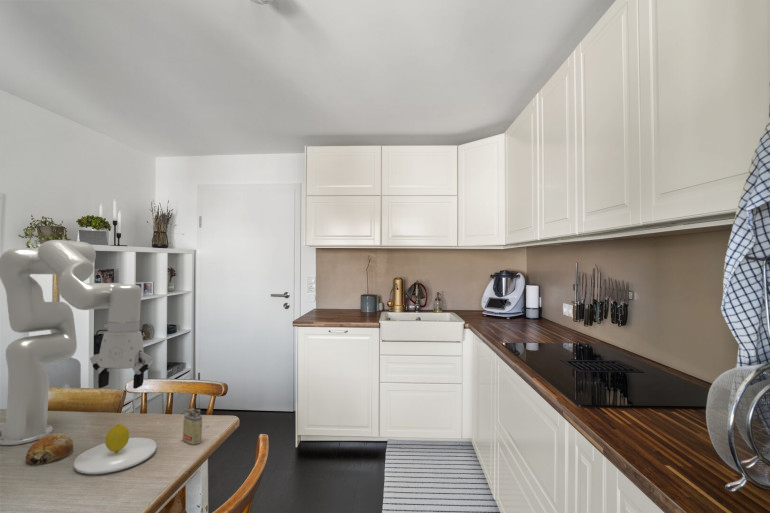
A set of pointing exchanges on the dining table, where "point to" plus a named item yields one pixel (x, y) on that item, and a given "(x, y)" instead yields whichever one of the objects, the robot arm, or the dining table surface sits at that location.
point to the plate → (114, 457)
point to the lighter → (192, 427)
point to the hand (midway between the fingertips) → (120, 386)
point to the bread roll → (49, 449)
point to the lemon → (117, 438)
